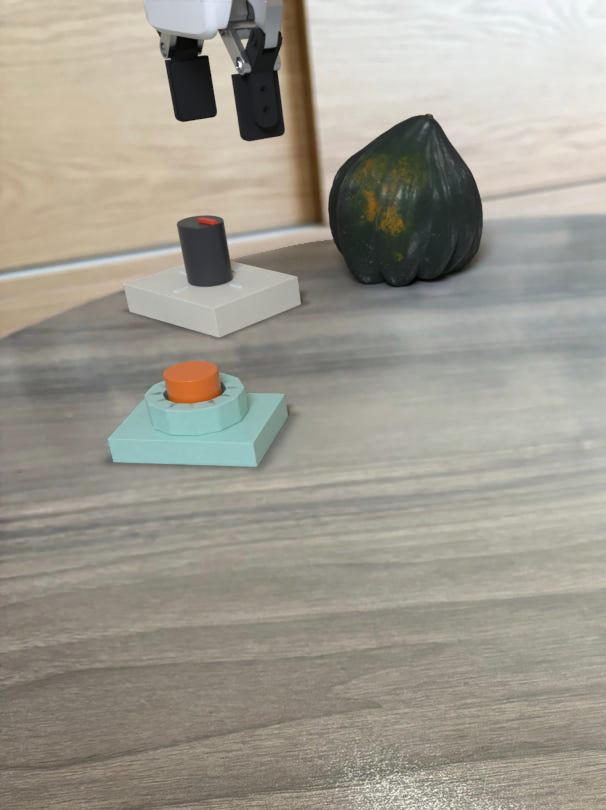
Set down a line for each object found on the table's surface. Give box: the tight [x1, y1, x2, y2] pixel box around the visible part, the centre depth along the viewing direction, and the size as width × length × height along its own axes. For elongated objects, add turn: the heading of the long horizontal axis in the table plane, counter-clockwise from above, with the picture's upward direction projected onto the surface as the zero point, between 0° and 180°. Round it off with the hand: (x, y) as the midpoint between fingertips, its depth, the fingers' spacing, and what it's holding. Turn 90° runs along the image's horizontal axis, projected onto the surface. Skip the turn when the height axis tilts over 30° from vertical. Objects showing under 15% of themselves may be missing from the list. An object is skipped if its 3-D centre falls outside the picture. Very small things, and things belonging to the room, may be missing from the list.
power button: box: [162, 360, 222, 404], centre depth 70 cm, size 4×4×2 cm
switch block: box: [107, 372, 289, 468], centre depth 71 cm, size 10×8×4 cm
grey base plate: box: [123, 260, 302, 338], centre depth 93 cm, size 12×10×3 cm
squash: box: [327, 113, 484, 287], centre depth 98 cm, size 14×15×15 cm
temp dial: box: [176, 214, 233, 286], centre depth 91 cm, size 4×4×5 cm
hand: (228, 128), depth 73 cm, fingers open, 9 cm apart
